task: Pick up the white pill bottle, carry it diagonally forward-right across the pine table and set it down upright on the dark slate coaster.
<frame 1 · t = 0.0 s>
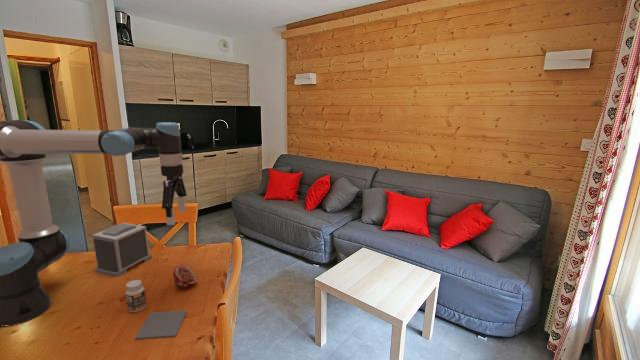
hand: (176, 218, 118), 28 cm above the table, fingers open, 13 cm apart
grey box: (125, 264, 138), on the table
flower: (186, 285, 123), on the table
slate coaster: (162, 324, 101), on the table
pill bottle: (137, 308, 109), on the table
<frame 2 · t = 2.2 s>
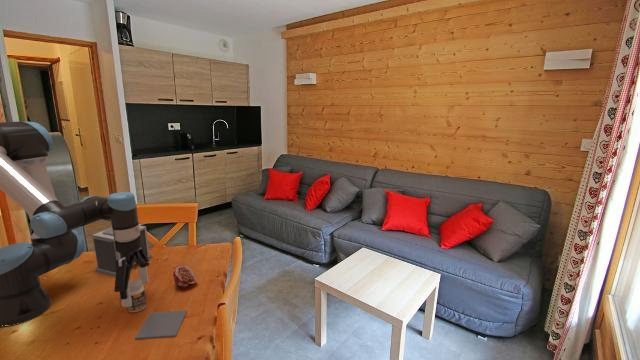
hand: (136, 294, 107), 6 cm above the table, fingers open, 13 cm apart
nothing on the table moved.
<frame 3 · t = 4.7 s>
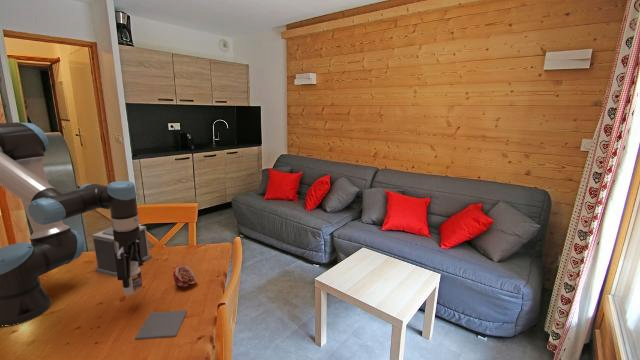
hand: (133, 288, 107), 8 cm above the table, fingers closed on pill bottle, 6 cm apart
pill bottle: (133, 290, 107), point 7 cm above the table, touching gripper
everything else where it was.
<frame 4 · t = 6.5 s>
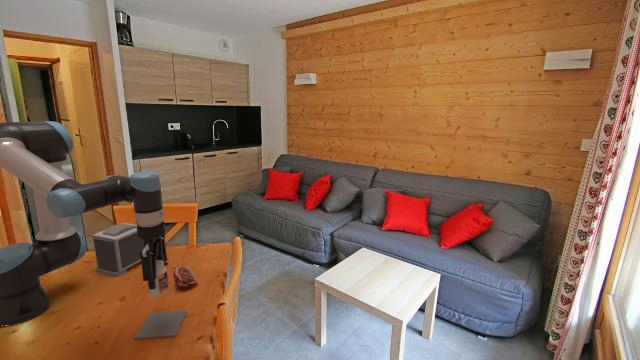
hand: (158, 290, 98), 13 cm above the table, fingers closed on pill bottle, 6 cm apart
pill bottle: (159, 291, 98), point 12 cm above the table, touching gripper
everything else where it was.
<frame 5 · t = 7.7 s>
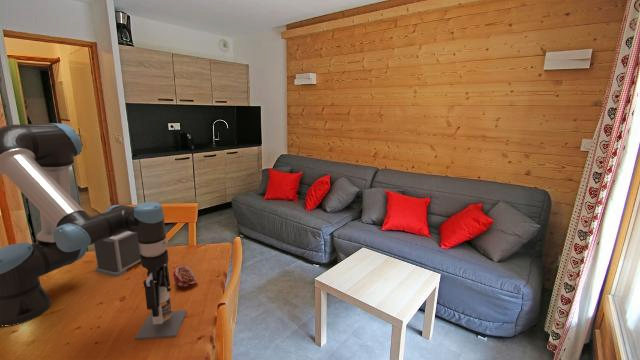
hand: (161, 316, 100), 3 cm above the table, fingers closed on pill bottle, 6 cm apart
pill bottle: (162, 317, 100), point 3 cm above the table, touching gripper
everything else where it was.
when the fingers open (1 cm above the table, at t = 8.8 s): pill bottle stays where it is, resting on slate coaster.
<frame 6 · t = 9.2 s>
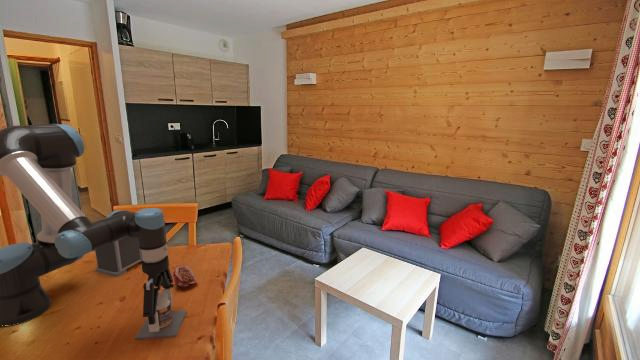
hand: (161, 317, 100), 3 cm above the table, fingers open, 11 cm apart
pill bottle: (162, 323, 101), resting on slate coaster
everything else where it was.
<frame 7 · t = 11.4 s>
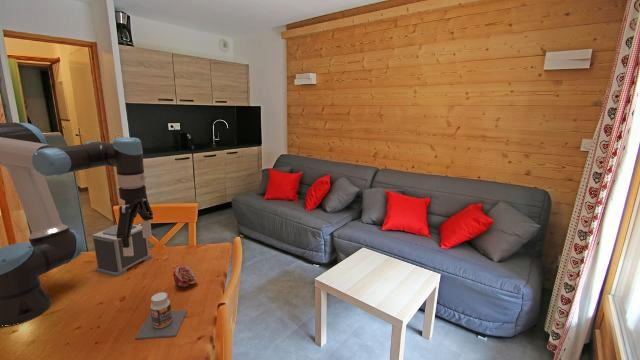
hand: (138, 246, 104), 24 cm above the table, fingers open, 13 cm apart
nothing on the table moved.
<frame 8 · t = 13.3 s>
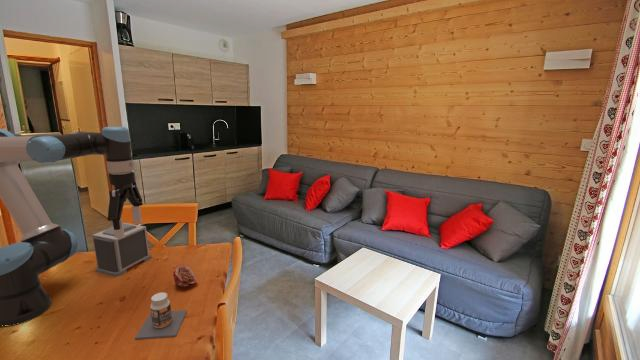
hand: (129, 229, 110), 27 cm above the table, fingers open, 13 cm apart
nothing on the table moved.
at the end: pill bottle inside the target area on the slate coaster (0.1 cm from its centre), point 0.4 cm above the slate coaster's base; pill bottle tilted 0°; the gripper is holding nothing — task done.
